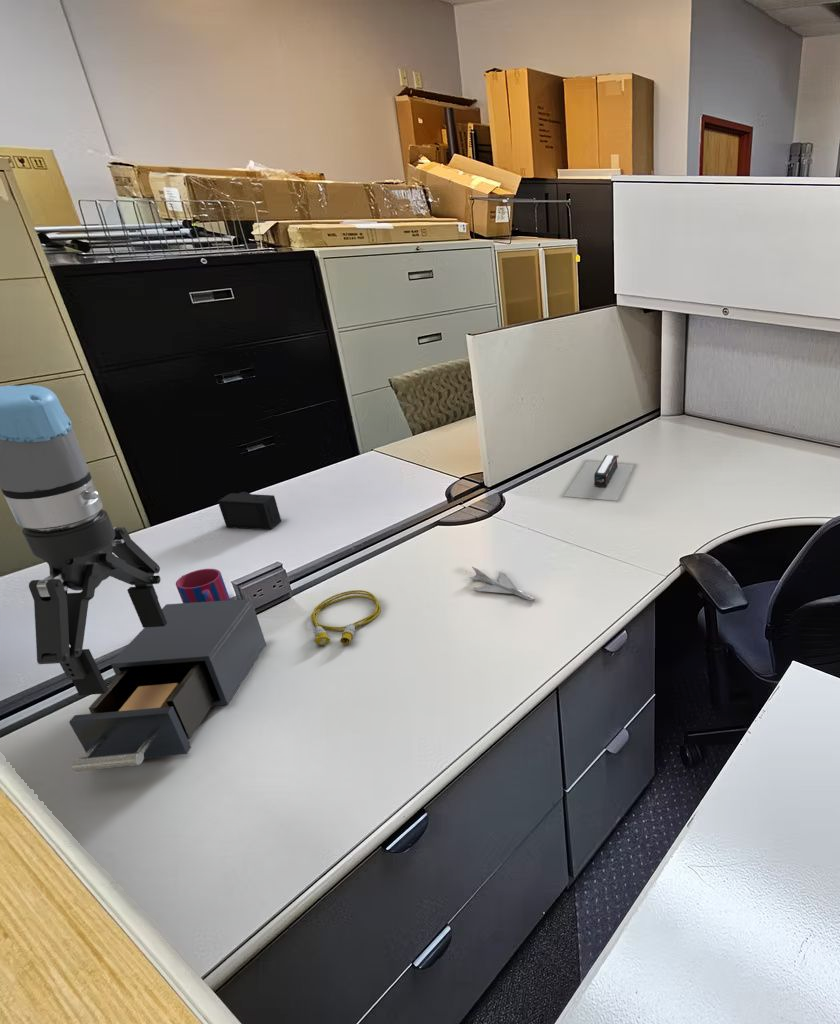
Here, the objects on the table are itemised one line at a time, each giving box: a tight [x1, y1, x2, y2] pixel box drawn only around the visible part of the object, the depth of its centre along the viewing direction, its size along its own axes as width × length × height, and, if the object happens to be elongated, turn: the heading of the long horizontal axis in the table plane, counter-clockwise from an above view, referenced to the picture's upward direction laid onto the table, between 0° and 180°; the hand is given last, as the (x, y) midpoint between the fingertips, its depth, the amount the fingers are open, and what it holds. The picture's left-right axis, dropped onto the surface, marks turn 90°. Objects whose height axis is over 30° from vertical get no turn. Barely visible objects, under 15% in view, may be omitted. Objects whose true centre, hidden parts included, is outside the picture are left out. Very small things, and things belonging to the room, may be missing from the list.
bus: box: [564, 454, 635, 502], centre depth 174 cm, size 14×25×4 cm, turn 174°
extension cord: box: [310, 589, 381, 646], centre depth 114 cm, size 12×16×2 cm
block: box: [119, 683, 179, 711], centre depth 87 cm, size 5×5×5 cm
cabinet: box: [110, 598, 267, 707], centre depth 98 cm, size 15×13×10 cm
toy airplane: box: [465, 566, 536, 602], centre depth 126 cm, size 8×21×2 cm, turn 60°
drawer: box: [68, 661, 219, 772], centre depth 86 cm, size 18×11×8 cm, turn 11°
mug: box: [175, 568, 231, 603], centre depth 113 cm, size 7×10×7 cm
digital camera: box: [217, 491, 282, 531], centre depth 143 cm, size 10×5×7 cm, turn 89°
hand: (127, 656), depth 83 cm, fingers open, 13 cm apart
